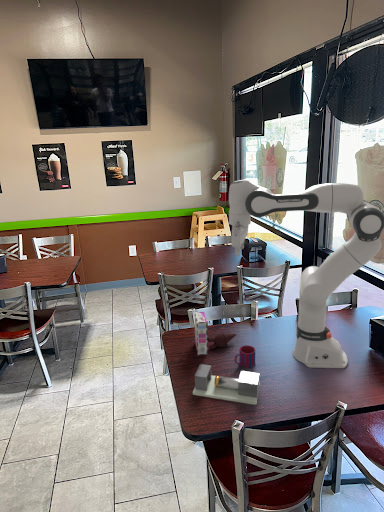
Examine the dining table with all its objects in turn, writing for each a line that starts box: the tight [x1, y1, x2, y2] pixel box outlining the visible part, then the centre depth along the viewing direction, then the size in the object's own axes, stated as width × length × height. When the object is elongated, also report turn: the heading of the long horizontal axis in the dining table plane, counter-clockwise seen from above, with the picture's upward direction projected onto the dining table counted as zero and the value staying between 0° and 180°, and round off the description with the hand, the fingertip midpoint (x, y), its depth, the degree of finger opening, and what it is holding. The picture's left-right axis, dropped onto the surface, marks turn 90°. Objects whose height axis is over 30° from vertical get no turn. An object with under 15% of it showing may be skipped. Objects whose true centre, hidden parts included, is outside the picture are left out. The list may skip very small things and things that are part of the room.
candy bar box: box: [194, 311, 209, 356], centre depth 164 cm, size 11×5×16 cm, turn 5°
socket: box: [194, 363, 212, 391], centre depth 139 cm, size 4×8×6 cm, turn 164°
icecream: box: [207, 331, 237, 350], centre depth 167 cm, size 7×7×15 cm
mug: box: [234, 344, 256, 369], centre depth 152 cm, size 7×10×7 cm
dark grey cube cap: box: [238, 370, 260, 399], centre depth 134 cm, size 7×7×6 cm
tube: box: [214, 375, 239, 390], centre depth 136 cm, size 15×4×4 cm, turn 74°
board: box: [192, 374, 261, 406], centre depth 138 cm, size 24×12×1 cm, turn 74°
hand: (239, 251), depth 151 cm, fingers open, 8 cm apart
